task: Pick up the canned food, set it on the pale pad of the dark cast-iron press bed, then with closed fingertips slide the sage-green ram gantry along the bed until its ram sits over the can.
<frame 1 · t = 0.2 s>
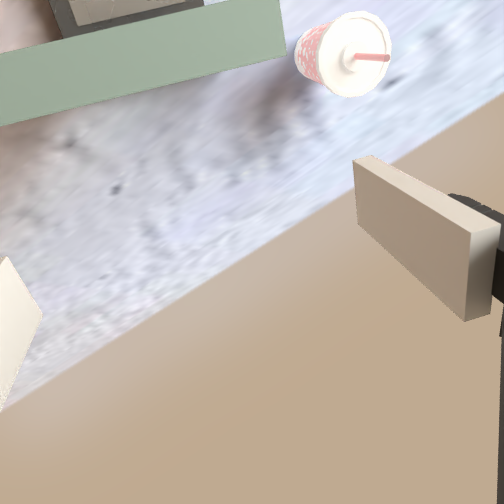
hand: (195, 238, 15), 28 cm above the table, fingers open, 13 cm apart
ram gantry: (140, 55, 27), point 9 cm above the table, slide at 0.0 cm
beverage cup: (316, 53, 39), on the table
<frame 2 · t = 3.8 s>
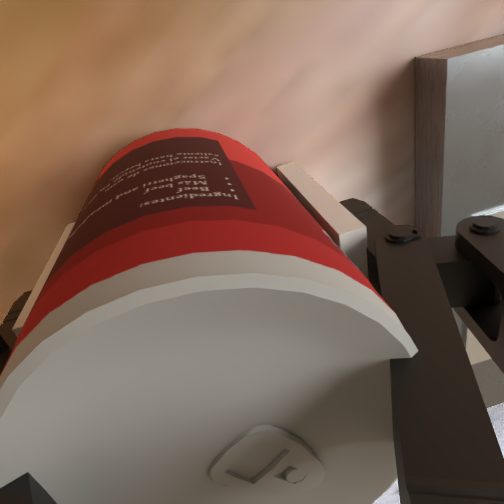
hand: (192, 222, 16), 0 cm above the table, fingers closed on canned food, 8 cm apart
canned food: (192, 217, 17), on the table, touching gripper
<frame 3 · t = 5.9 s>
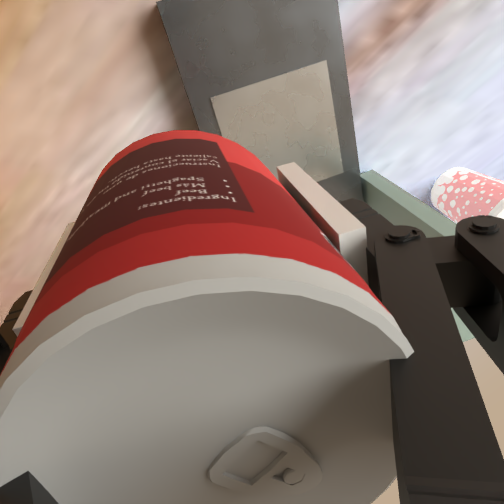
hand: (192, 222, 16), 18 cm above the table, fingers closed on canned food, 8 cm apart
ram gantry: (331, 260, 29), point 9 cm above the table, slide at 0.0 cm
canned food: (191, 218, 17), point 17 cm above the table, touching gripper
press bed: (272, 120, 32), on the table
beverage cup: (450, 188, 39), on the table
when the fingers open (4 cm above the table, at t = 8.3 s): canned food drops 1 cm, resting on press bed.
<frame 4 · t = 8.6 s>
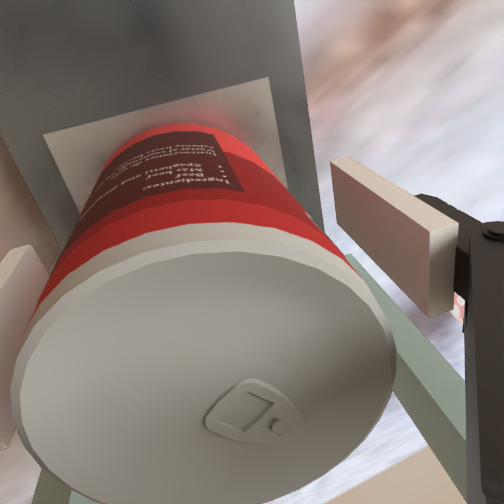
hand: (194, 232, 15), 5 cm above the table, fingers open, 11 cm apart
ram gantry: (258, 457, 15), point 9 cm above the table, slide at 0.0 cm
canned food: (190, 208, 18), point 2 cm above the table, touching press bed
press bed: (182, 173, 19), on the table
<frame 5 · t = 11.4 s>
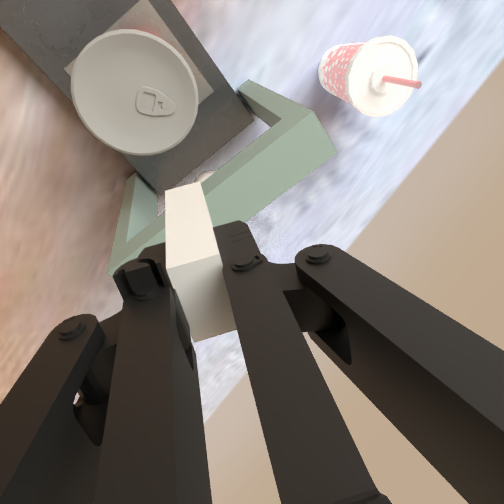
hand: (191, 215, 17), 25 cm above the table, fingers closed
ram gantry: (205, 169, 32), point 9 cm above the table, slide at 0.0 cm
canned food: (142, 80, 35), point 2 cm above the table, touching press bed
press bed: (135, 68, 36), on the table
beverage cup: (338, 69, 40), on the table
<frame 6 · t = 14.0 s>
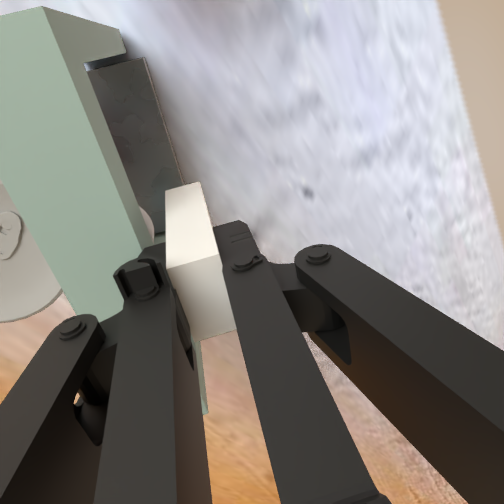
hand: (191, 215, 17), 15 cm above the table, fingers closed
ram gantry: (128, 192, 22), point 10 cm above the table, slide at 1.0 cm, touching gripper
canned food: (47, 181, 28), point 2 cm above the table, touching press bed
press bed: (40, 176, 29), on the table
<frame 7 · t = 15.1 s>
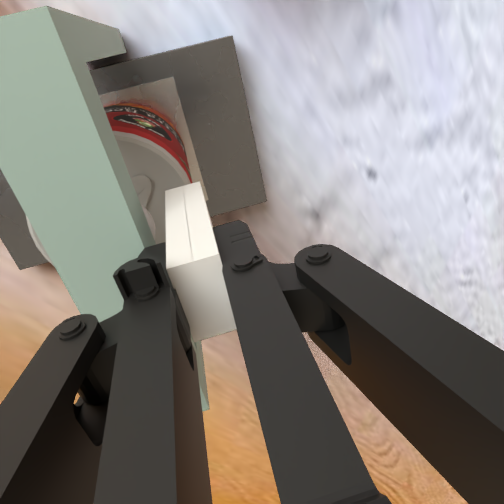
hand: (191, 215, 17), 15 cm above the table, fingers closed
ram gantry: (129, 191, 22), point 10 cm above the table, slide at 7.1 cm, touching gripper
canned food: (131, 158, 28), point 2 cm above the table, touching press bed
press bed: (120, 155, 30), on the table
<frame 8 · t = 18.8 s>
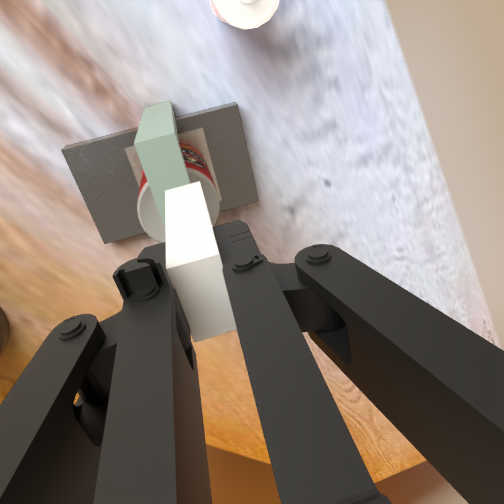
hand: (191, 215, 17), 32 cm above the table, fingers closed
ram gantry: (181, 195, 40), point 10 cm above the table, slide at 7.1 cm
canned food: (176, 175, 47), point 2 cm above the table, touching press bed
press bed: (167, 172, 48), on the table
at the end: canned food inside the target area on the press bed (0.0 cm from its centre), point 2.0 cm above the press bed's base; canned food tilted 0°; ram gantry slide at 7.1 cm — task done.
